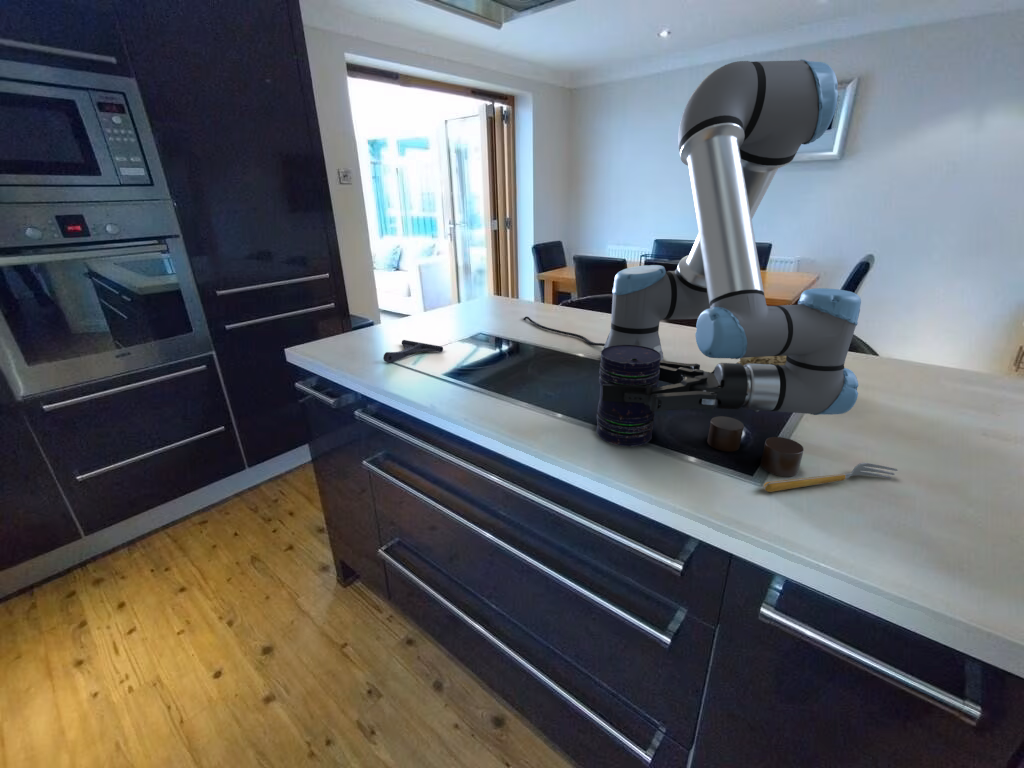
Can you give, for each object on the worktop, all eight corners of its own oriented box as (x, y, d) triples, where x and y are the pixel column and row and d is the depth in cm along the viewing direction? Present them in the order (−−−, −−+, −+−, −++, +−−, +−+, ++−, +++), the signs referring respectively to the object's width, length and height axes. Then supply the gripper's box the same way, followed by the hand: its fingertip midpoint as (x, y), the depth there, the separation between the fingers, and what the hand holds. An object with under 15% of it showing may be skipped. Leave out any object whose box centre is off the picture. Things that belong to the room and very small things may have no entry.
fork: (772, 487, 60) (899, 468, 63) (764, 477, 62) (888, 458, 64) (766, 499, 62) (890, 480, 64) (758, 489, 63) (880, 470, 66)
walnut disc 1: (701, 442, 75) (704, 421, 73) (717, 433, 78) (721, 413, 76) (729, 455, 71) (733, 433, 70) (745, 445, 74) (749, 424, 72)
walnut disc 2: (754, 466, 68) (759, 443, 67) (770, 455, 71) (775, 433, 69) (788, 481, 64) (794, 457, 63) (803, 469, 67) (809, 446, 65)
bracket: (366, 359, 119) (365, 349, 118) (405, 344, 130) (404, 335, 129) (406, 368, 112) (404, 358, 111) (443, 351, 123) (442, 342, 122)
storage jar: (592, 419, 83) (596, 344, 78) (644, 419, 83) (652, 344, 77) (600, 447, 74) (605, 364, 68) (659, 446, 74) (669, 363, 68)
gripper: (759, 441, 63) (601, 430, 67) (721, 381, 83) (601, 376, 87) (770, 393, 60) (603, 385, 64) (727, 343, 80) (603, 339, 84)
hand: (602, 379), depth 76 cm, fingers closed on storage jar, 10 cm apart
